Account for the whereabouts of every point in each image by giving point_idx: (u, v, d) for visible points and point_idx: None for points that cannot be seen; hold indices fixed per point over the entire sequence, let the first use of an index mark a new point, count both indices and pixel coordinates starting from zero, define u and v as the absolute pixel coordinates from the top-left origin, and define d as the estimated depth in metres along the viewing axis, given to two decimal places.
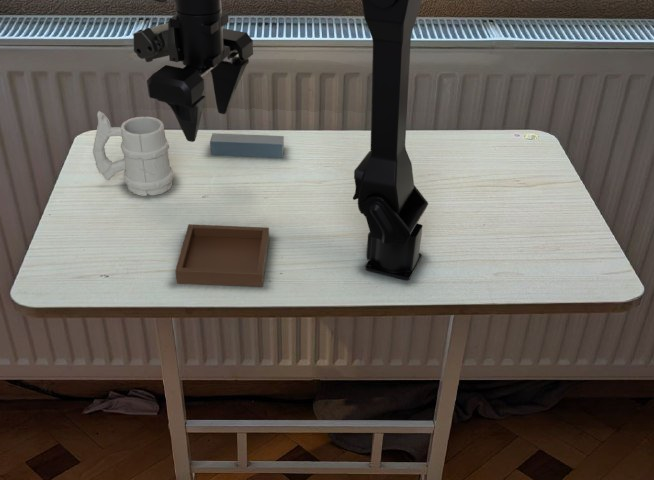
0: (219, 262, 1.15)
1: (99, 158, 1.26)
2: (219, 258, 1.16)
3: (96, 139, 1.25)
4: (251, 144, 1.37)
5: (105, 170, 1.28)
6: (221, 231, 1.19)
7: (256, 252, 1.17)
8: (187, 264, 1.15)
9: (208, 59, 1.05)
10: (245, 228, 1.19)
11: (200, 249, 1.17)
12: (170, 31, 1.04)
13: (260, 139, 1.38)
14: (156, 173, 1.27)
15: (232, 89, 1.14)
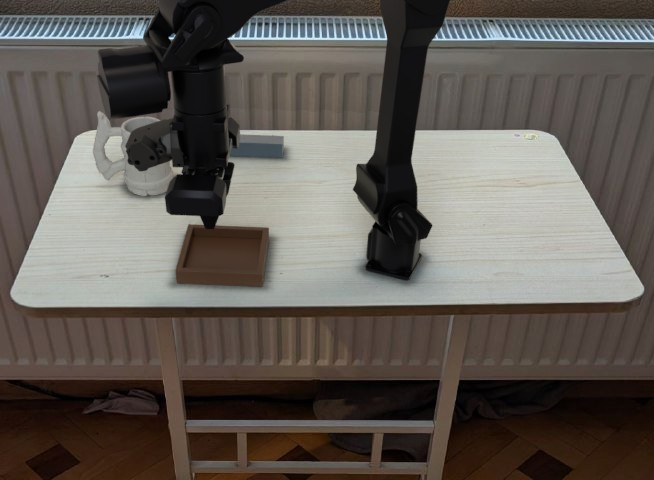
0: (219, 262, 1.15)
1: (99, 158, 1.26)
2: (219, 258, 1.16)
3: (96, 139, 1.25)
4: (251, 144, 1.37)
5: (105, 170, 1.28)
6: (221, 231, 1.19)
7: (256, 252, 1.17)
8: (187, 264, 1.15)
9: (220, 159, 0.92)
10: (245, 228, 1.19)
11: (200, 249, 1.17)
12: (172, 135, 0.91)
13: (260, 139, 1.38)
14: (156, 173, 1.27)
15: None
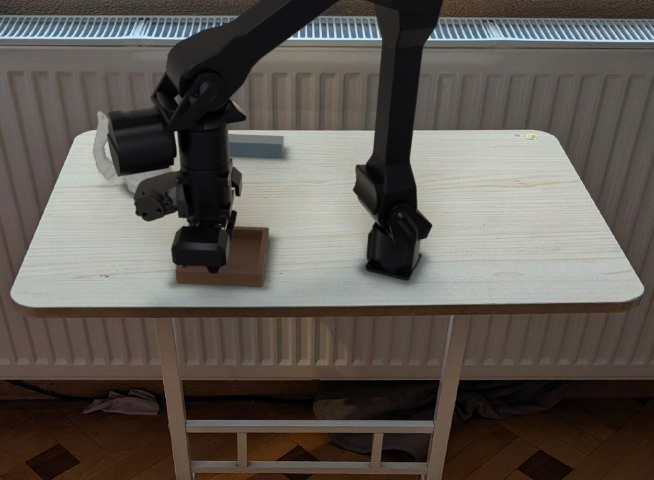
0: None
1: (99, 158, 1.26)
2: None
3: (96, 139, 1.25)
4: (251, 144, 1.37)
5: (105, 170, 1.28)
6: None
7: (256, 252, 1.17)
8: None
9: (224, 210, 0.97)
10: (245, 228, 1.19)
11: None
12: (178, 189, 0.95)
13: (260, 139, 1.38)
14: (156, 173, 1.27)
15: None
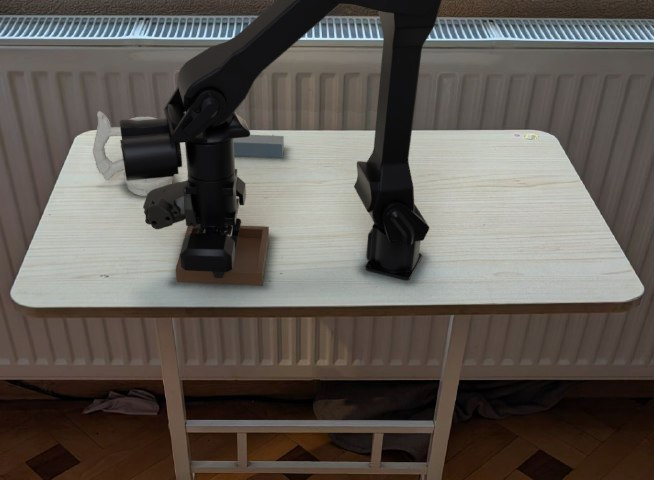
0: None
1: (99, 158, 1.26)
2: None
3: (96, 139, 1.25)
4: (251, 144, 1.37)
5: (105, 170, 1.28)
6: None
7: (256, 251, 1.17)
8: None
9: (229, 218, 1.02)
10: (245, 227, 1.19)
11: None
12: (186, 198, 1.00)
13: (260, 139, 1.38)
14: None
15: None
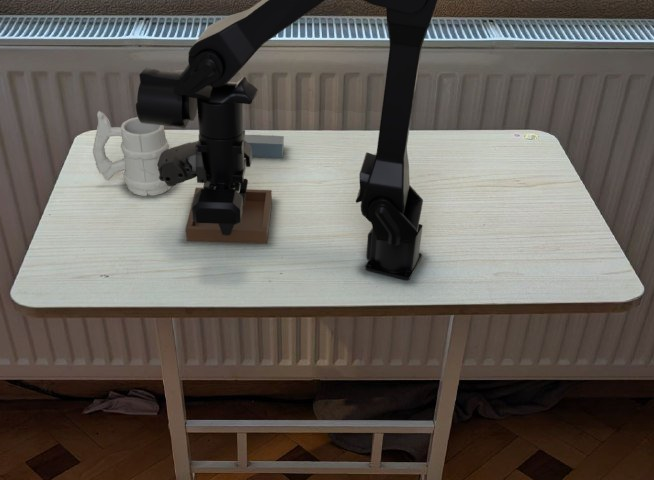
0: None
1: (99, 158, 1.26)
2: None
3: (96, 139, 1.25)
4: (251, 144, 1.37)
5: (105, 170, 1.28)
6: None
7: (260, 213, 1.25)
8: (196, 224, 1.22)
9: (237, 176, 1.10)
10: (249, 191, 1.26)
11: None
12: (198, 156, 1.08)
13: (260, 139, 1.38)
14: (156, 173, 1.27)
15: None
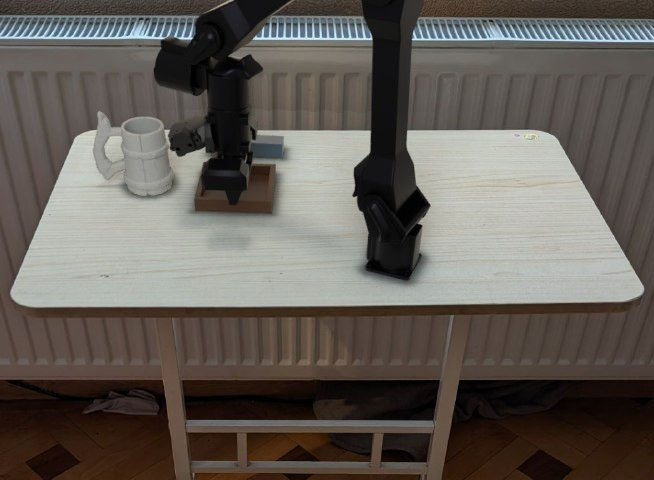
0: None
1: (99, 158, 1.26)
2: None
3: (96, 139, 1.25)
4: (251, 144, 1.37)
5: (105, 170, 1.28)
6: None
7: (265, 185, 1.31)
8: (204, 195, 1.28)
9: (244, 146, 1.16)
10: (254, 164, 1.32)
11: None
12: (206, 127, 1.14)
13: (260, 139, 1.38)
14: (156, 172, 1.27)
15: None
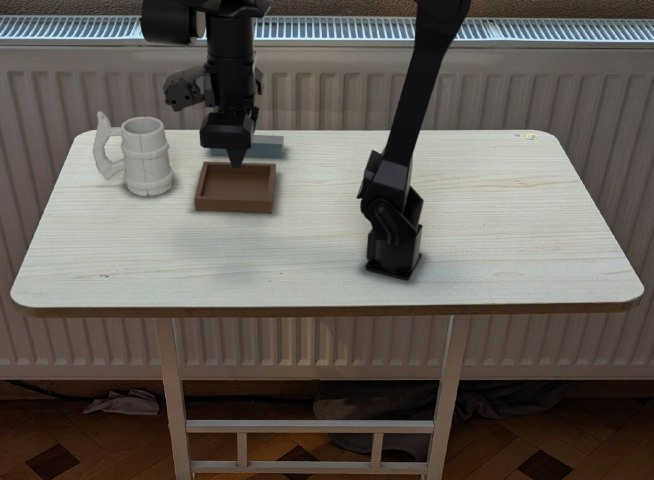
0: (232, 193, 1.29)
1: (99, 158, 1.26)
2: (232, 189, 1.30)
3: (96, 139, 1.25)
4: None
5: (105, 170, 1.28)
6: None
7: (265, 185, 1.31)
8: (204, 195, 1.28)
9: (248, 100, 1.03)
10: (254, 164, 1.32)
11: (214, 182, 1.31)
12: (206, 77, 1.01)
13: (260, 139, 1.38)
14: (156, 173, 1.27)
15: None
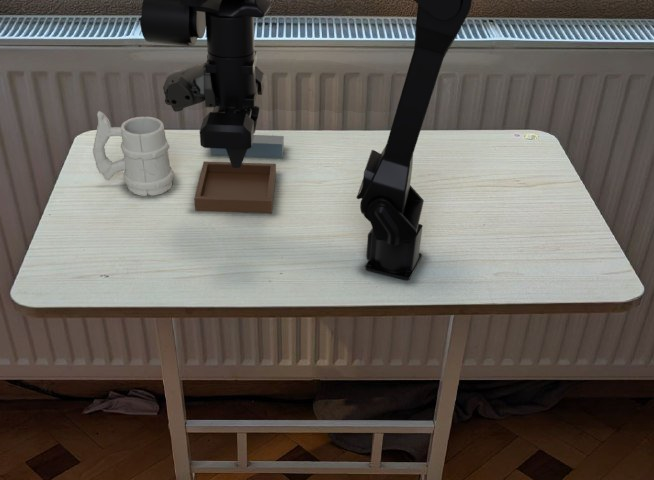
0: (232, 193, 1.29)
1: (99, 158, 1.26)
2: (232, 189, 1.30)
3: (96, 139, 1.25)
4: None
5: (105, 170, 1.28)
6: None
7: (265, 185, 1.31)
8: (204, 195, 1.28)
9: (248, 99, 1.03)
10: (254, 164, 1.32)
11: (214, 182, 1.31)
12: (206, 77, 1.01)
13: (260, 139, 1.38)
14: (156, 173, 1.27)
15: None
